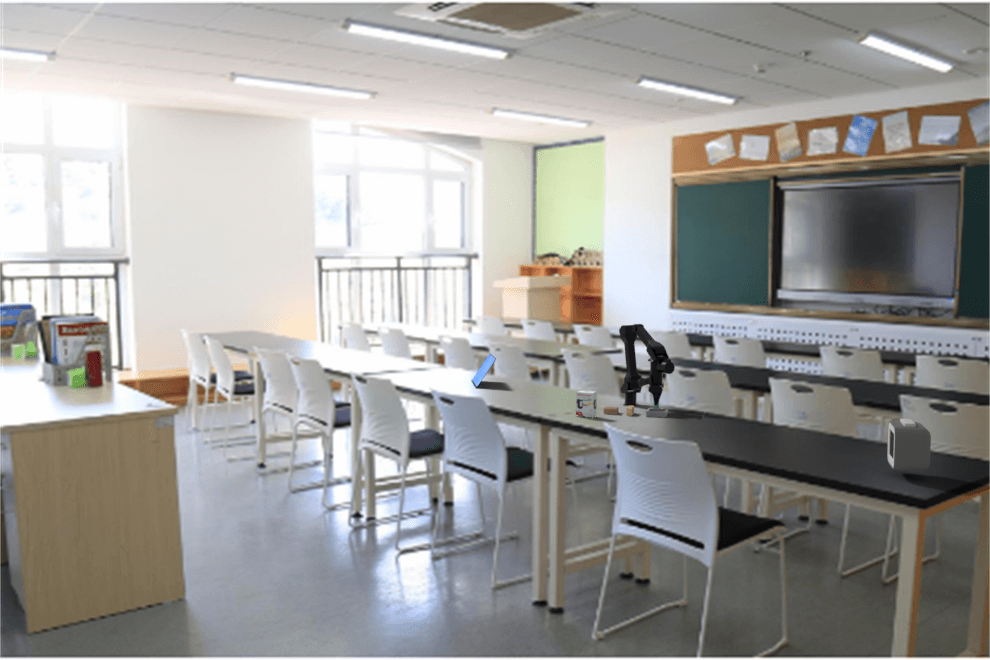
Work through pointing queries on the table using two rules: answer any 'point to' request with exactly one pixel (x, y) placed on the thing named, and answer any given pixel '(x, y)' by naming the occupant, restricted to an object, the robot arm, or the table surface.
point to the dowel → (655, 405)
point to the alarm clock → (908, 445)
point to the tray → (656, 412)
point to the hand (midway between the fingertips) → (656, 404)
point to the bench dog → (629, 410)
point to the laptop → (483, 370)
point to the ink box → (586, 403)
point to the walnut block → (611, 410)
